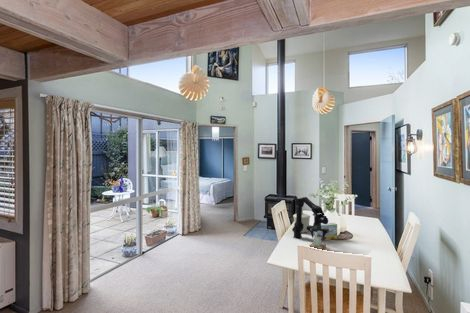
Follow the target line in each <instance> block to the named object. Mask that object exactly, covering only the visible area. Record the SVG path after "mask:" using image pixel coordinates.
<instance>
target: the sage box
mask: <svg viewBox="0 0 470 313" xmlns="http://www.w3.org/2000/svg"><path fill="white" fill-rule="evenodd" d="M313 242H314V245H316V246H320V245H321V243H322V240H321V237H317V236H316V237H315V236H313Z"/></svg>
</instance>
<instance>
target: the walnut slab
mask: <svg viewBox="0 0 470 313" xmlns="http://www.w3.org/2000/svg"><path fill="white" fill-rule="evenodd" d="M309 246H310V247H314V248H317V249H322V251H323V250H325V249H326V248H327V243H326V244H325V243H322V242H321V245H320V246H316V245H314V241H313V242H312V243H310V244H309Z"/></svg>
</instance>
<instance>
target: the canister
mask: <svg viewBox="0 0 470 313" xmlns="http://www.w3.org/2000/svg"><path fill="white" fill-rule="evenodd" d="M296 215H297V213H294V214H293V215H292V217H293V224H295V222H296ZM310 219H311V215H310V214H308V213H304V212H303V211H302V221H301V222H302V224H303V230H302V231H301V234H303V233H304V234H305V233H307V232H309V231H308V230H307V226H309V225H310Z"/></svg>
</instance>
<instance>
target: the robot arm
mask: <svg viewBox="0 0 470 313" xmlns="http://www.w3.org/2000/svg"><path fill="white" fill-rule="evenodd" d="M294 203H295V204H294V205H295V207H296V214H297V215H296V222H295V224H294V223H293V224H294V226H293V228H292V232H293V238H294V239H297V240H298V239H301V238H303V237H302V233H301V231H302V230H303V224H302V222H301V221H302V212H303V207H304V206H305V205H304V204H306V206H308V207H309V208H310V210H311V212H312V216H313V218H314V219H313V224H312V225H311V224H309V226H307V230H308V231H307V232H310V235H311V238H312V239H314V233H315V232H317V231H322V232H323V233H322V234H323V236H322V240H321V241H324V240H323V239H324V237H325V235H326V234H327V233H328V232H329V229H327V228H324V229H321V228H322V227H321V224H327V223H329V218H328V217H327V216H326V215H325V213H324V210H323V209H322V208H321V207H320V206H319V205H318V204H317V205H316V204H315V203H313V201H312V200H310V199H309V197H307V196H304V197H301V198H295V201H294Z"/></svg>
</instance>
